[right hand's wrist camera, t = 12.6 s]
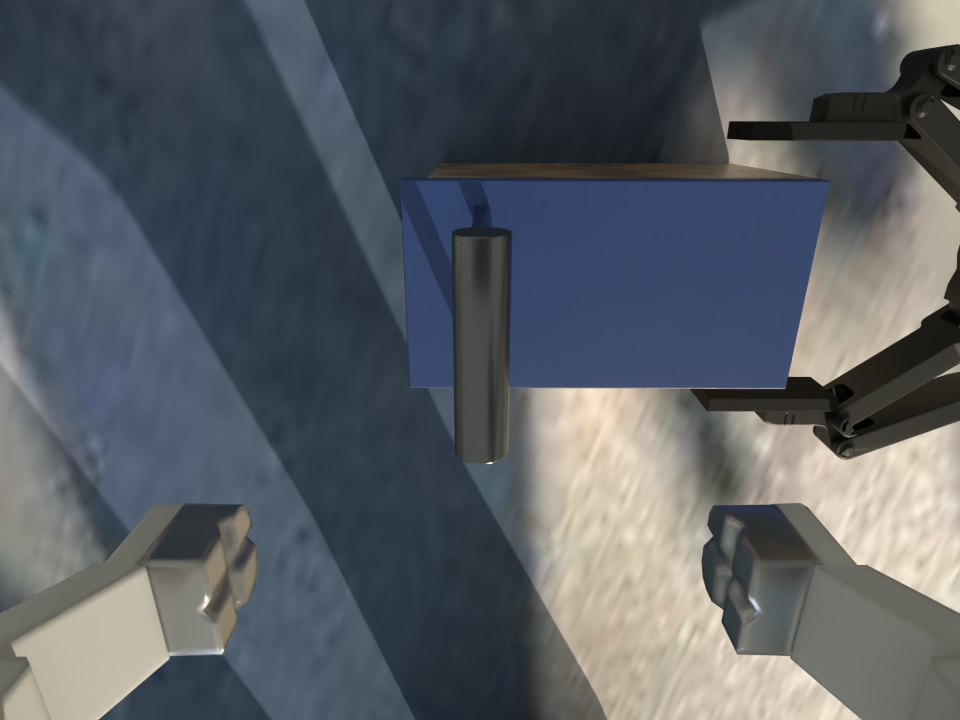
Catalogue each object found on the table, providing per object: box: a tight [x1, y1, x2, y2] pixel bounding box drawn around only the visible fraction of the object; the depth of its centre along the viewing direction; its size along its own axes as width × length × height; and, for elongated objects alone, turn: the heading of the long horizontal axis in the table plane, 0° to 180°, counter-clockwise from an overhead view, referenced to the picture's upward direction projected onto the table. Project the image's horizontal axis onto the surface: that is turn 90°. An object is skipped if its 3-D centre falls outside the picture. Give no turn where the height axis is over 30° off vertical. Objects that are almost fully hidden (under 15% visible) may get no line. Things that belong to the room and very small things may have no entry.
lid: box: [400, 178, 829, 464], centre depth 22 cm, size 17×9×9 cm, turn 90°
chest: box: [427, 163, 815, 179], centre depth 31 cm, size 16×9×9 cm, turn 90°
